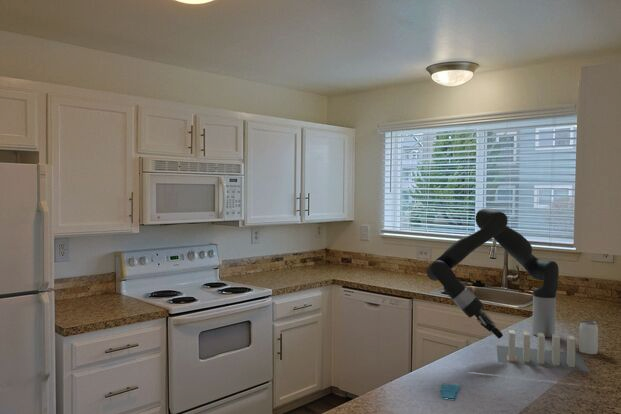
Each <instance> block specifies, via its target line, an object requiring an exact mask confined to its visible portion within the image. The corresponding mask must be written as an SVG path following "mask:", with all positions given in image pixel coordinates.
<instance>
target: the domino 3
mask: <svg viewBox="0 0 621 414" xmlns="http://www.w3.org/2000/svg"><path fill="white" fill-rule="evenodd" d="M536 344H537V347H536V349H537V360H538V363H540V364H544V358H545V350H546V349H545V348H546V345H545V344H546V337H545V336H544V333H538V336H537V343H536Z"/></svg>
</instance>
